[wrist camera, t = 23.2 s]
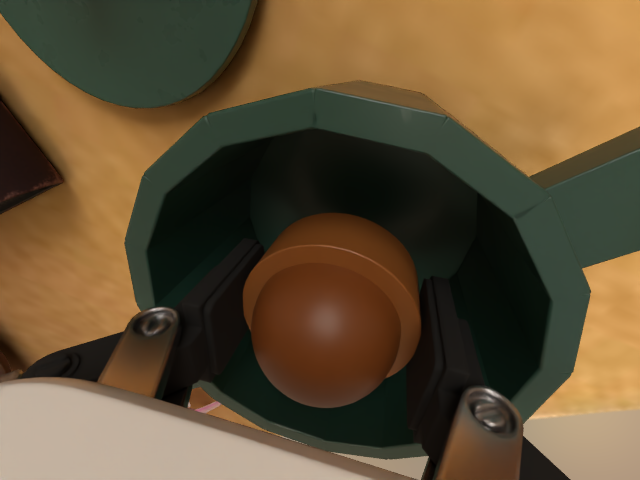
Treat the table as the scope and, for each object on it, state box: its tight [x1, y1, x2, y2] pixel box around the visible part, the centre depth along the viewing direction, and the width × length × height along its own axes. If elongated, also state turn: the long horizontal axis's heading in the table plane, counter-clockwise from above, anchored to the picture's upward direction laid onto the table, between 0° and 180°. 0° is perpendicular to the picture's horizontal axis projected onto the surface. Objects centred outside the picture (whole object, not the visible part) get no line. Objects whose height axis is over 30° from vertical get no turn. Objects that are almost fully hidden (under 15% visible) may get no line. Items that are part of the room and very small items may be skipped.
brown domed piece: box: [243, 213, 421, 408], centre depth 10 cm, size 6×6×5 cm
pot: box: [124, 80, 640, 459], centre depth 13 cm, size 14×19×8 cm
